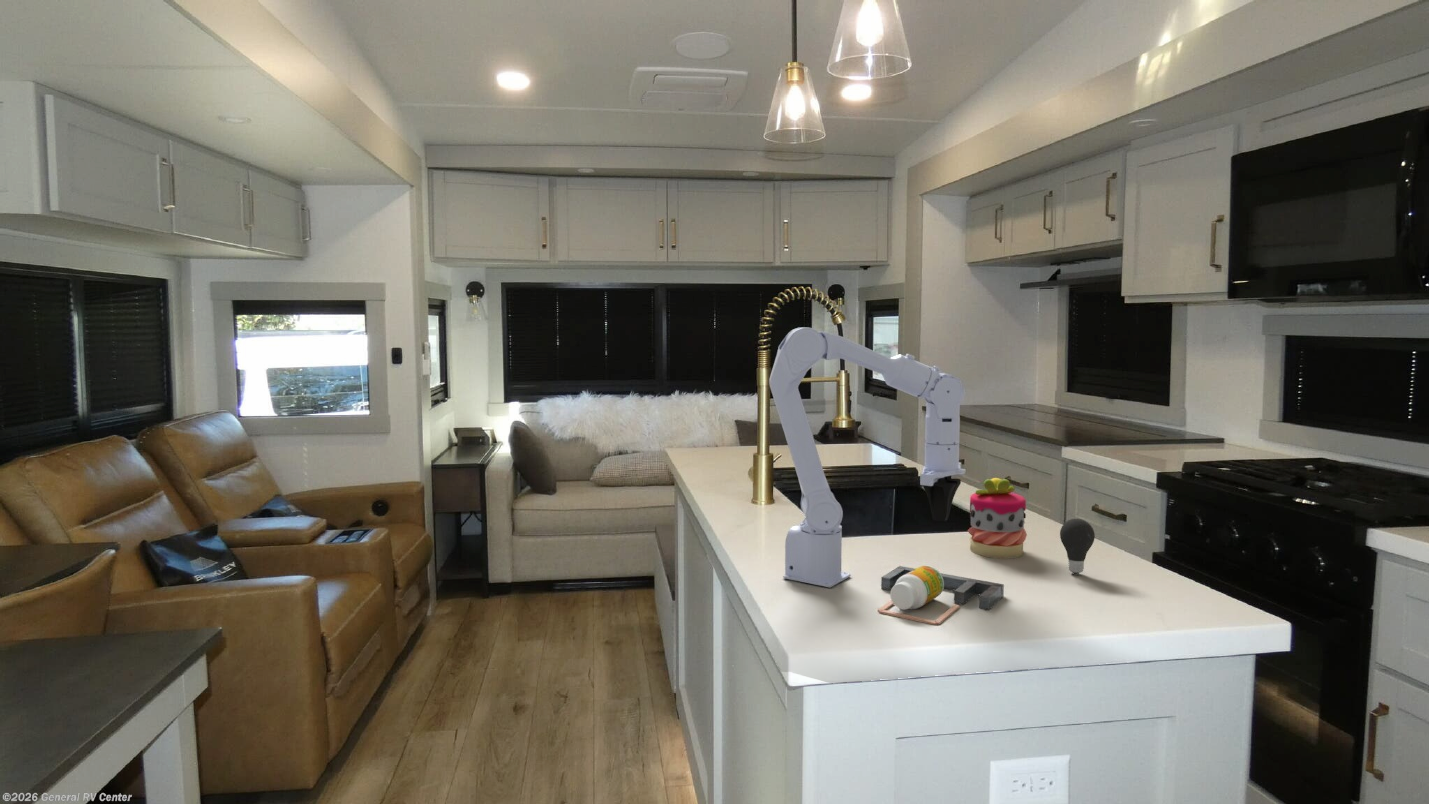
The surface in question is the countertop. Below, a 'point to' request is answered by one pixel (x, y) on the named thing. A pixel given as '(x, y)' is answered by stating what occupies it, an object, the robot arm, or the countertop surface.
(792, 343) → the robot arm
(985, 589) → the rail
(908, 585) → the supplement bottle
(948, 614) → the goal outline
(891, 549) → the countertop surface
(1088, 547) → the light bulb
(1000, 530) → the cake
